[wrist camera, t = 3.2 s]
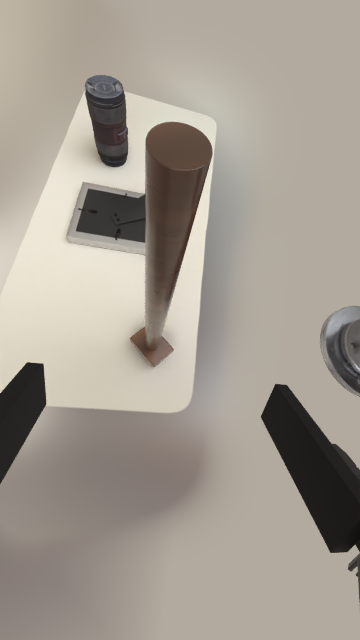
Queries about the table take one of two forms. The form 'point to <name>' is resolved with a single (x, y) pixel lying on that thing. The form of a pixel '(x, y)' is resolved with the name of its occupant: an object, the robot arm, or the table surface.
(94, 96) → the camera lens
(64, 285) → the table surface
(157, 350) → the brown piece
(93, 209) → the picture frame
